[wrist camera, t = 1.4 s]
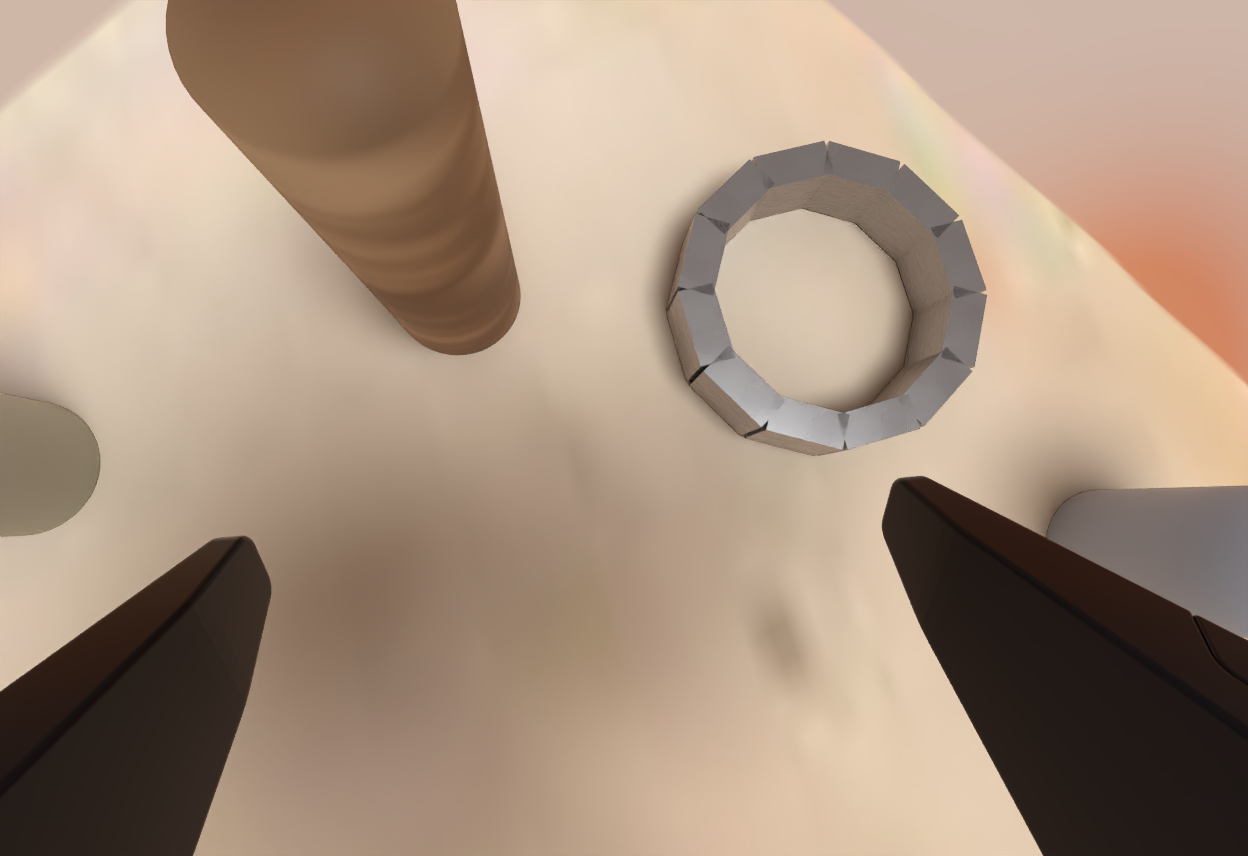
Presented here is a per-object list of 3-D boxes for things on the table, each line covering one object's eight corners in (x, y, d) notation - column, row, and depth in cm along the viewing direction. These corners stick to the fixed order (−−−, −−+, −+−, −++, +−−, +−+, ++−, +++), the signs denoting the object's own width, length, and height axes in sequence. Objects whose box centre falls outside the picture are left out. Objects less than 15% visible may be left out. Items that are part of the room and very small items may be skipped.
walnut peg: (457, 380, 22) (307, 212, 10) (368, 293, 22) (102, 12, 10) (545, 295, 23) (517, 30, 10) (459, 212, 23) (322, -155, 10)
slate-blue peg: (1111, 635, 23) (1509, 731, 13) (1023, 551, 23) (1355, 584, 14) (1178, 547, 24) (1606, 576, 14) (1093, 465, 24) (1458, 438, 14)
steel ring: (818, 510, 23) (849, 511, 20) (612, 311, 23) (617, 288, 21) (993, 314, 24) (1041, 292, 22) (798, 129, 25) (823, 87, 22)
